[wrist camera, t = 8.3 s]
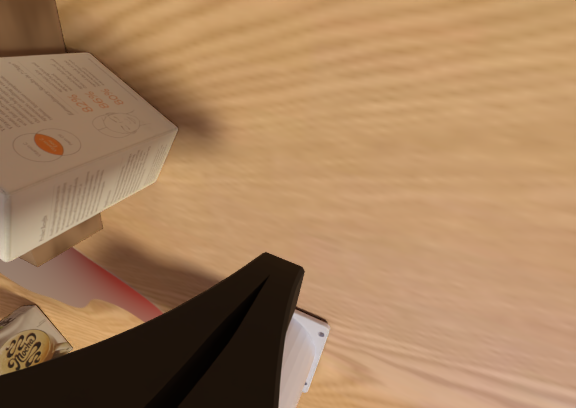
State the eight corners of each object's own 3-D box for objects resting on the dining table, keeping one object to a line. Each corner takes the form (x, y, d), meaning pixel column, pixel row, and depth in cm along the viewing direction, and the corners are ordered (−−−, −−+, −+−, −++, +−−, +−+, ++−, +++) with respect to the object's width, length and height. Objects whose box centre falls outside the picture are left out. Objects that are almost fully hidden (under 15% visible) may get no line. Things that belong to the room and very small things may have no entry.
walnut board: (102, 228, 29) (37, 267, 25) (83, 219, 30) (15, 255, 25) (28, -125, 17) (-138, -189, 12) (-3, -127, 17) (-173, -189, 12)
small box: (79, 115, 24) (-120, 161, 15) (90, 48, 20) (-156, 61, 12) (158, 183, 24) (4, 268, 15) (182, 128, 20) (3, 197, 12)
